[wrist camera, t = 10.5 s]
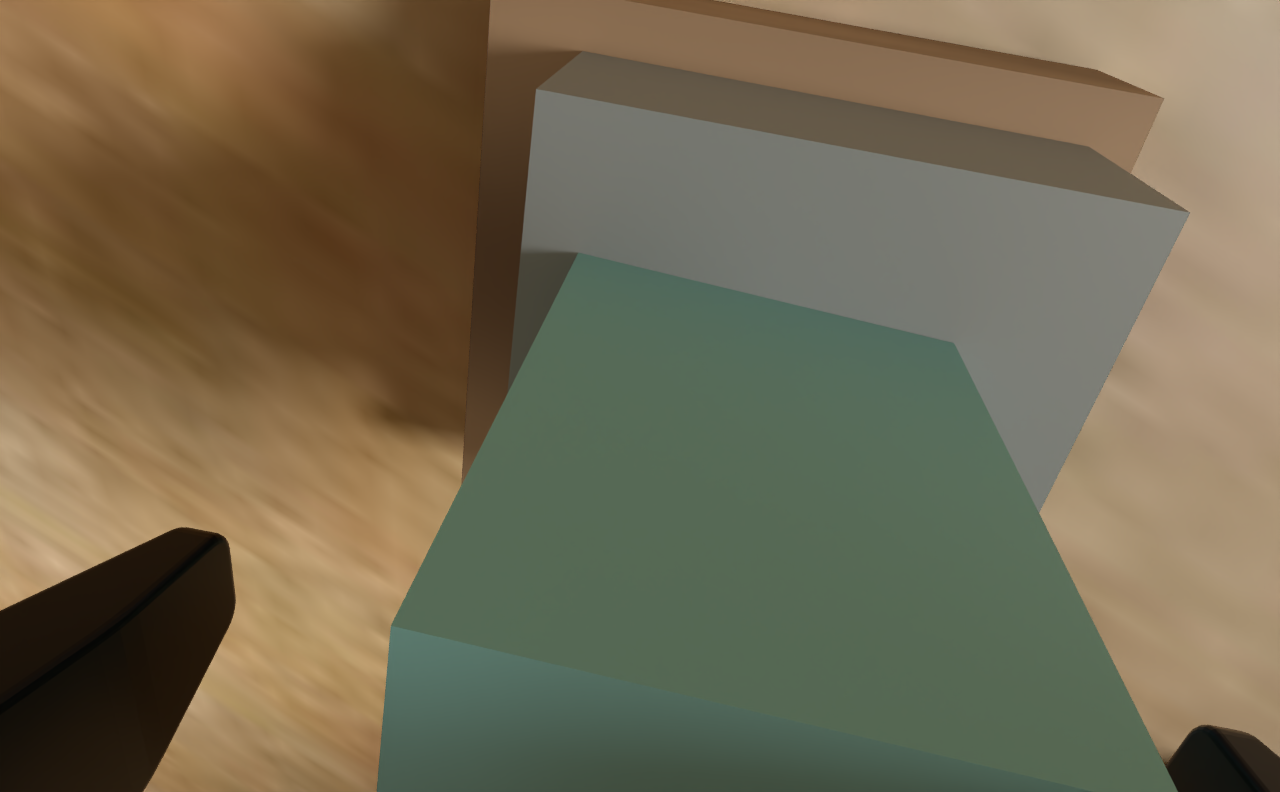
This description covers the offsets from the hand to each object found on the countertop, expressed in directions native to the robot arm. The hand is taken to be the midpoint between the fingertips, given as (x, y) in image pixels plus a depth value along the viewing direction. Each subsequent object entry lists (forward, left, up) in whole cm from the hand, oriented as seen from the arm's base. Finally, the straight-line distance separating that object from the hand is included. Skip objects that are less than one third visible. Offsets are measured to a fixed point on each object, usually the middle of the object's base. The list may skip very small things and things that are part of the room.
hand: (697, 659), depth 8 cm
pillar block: (0, 0, -4) cm, 4 cm away
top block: (+1, -1, -7) cm, 7 cm away
